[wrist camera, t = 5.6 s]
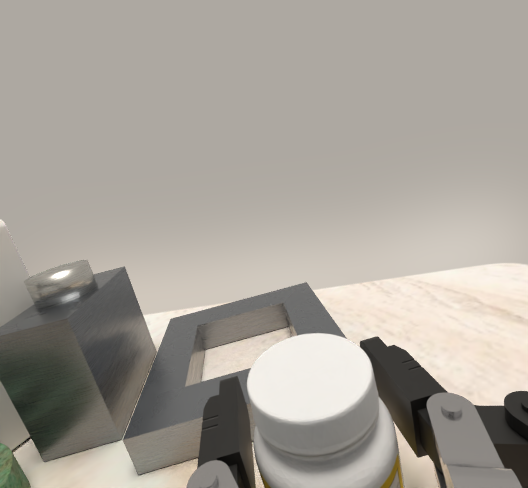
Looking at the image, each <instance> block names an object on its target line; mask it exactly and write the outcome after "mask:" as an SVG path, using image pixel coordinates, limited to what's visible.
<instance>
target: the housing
mask: <svg viewBox="0 0 528 488" xmlns="http://www.w3.org/2000/svg"><path fill="white" fill-rule="evenodd" d="M24 283H25V286H26V288H27V290H28V292H29V294H30V296H31V298H32V300H33V303H34V305H32V306H31V307H29V308H28V309H26V310H25V311H24V312H22V313H21V314H19V315H18V316H16V317H15V318H13V319H12V320H10V321H9V322H7V323H6V324H4V325H3V326H1V327H0V381H1V383H2V385H3V386H4V388H5V390H6V392H7V394H8V396H9V398H10V399H11V401H12V403H13V405H14V407H15V409H16V411H17V412H18V414H19V416H20V418H21V420H22V422H23V424H24V425H25V427H26V429H27V431H28V433H29V435H30V436H31V438H32V440H33V442H34V444H35V446H36V448H37V449H38V451H39V453H40V455H41V457H42V459H43V461H44V462H45V461H49V460H52V459H56V458H59V457H63V456H66V455H69V454H73V453H76V452H80V451H83V450H87V449H90V448H94V447H97V446H101V445H104V444H107V443H111V442H114V441H118V440H121V439H122V436H123V434H124V431H125V429H126V427H127V424H128V422H129V419H130V417H131V414H132V412H133V409H134V407H135V404H136V402H137V399H138V397H139V394H140V392H141V389H142V387H143V384H144V382H145V379H146V377H147V374H148V372H149V369H150V367H151V364H152V362H153V359H154V357H155V354H156V349H155V346H154V344H153V341H152V338H151V336H150V333H149V330H148V328H147V325H146V322H145V320H144V317H143V314H142V312H141V309H140V306H139V304H138V301H137V298H136V296H135V293H134V290H133V288H132V285H131V282H130V280H129V277H128V274H127V272H126V269H125V267H121V268H117V269H113V270H109V271H105V272H101V273H98V274H94V275H93V272H92V270H91V268H90V265H89V262H88V261H87V260H81V261H76V262H72V263H68V264H64V265H61V266H58V267H55V268H52V269H49V270H46V271H44V272H41V273H39V274H36V275H34V276H32V277H30V278H28V279H26V280H25V281H24ZM288 326H289V328H290V330H291V333H292V335H293V336H298V335H302V334H312V333H324V334H332V335H336V336H340V337H343V338H346V337H345V335H344V334H343V333H342V331H341V330H340V328H339V327H338V326H337V324H336V323H335V321H334V320H333V319H332V317H331V316H330V314H329V313H328V312H327V310H326V309H325V307H324V306H323V305H322V303H321V302H320V301H319V299H318V298H317V296H316V295H315V294H314V292H313V291H312V289H311V288H310V287H309V285H308V284H307V283H302V284H299V285H295V286H291V287H288V288H284V289H280V290H277V291H273V292H269V293H266V294H262V295H258V296H254V297H251V298H247V299H243V300H239V301H236V302H232V303H228V304H224V305H221V306H217V307H213V308H210V309H206V310H202V311H198V312H195V313H191V314H187V315H184V316H180V317H176V318H173V319H171V320H170V322H169V325H168V327H167V330H166V332H165V335H164V337H163V340H162V342H161V345H160V347H159V350H158V353H157V355H156V358H155V360H154V363H153V365H152V368H151V370H150V373H149V375H148V378H147V380H146V383H145V385H144V388H143V390H142V393H141V396H140V398H139V401H138V403H137V406H136V408H135V411H134V413H133V416H132V418H131V421H130V423H129V426H128V428H127V431H126V433H125V436H124V439H123V442H124V444H125V446H126V448H127V451H128V453H129V455H130V457H131V460H132V462H133V464H134V466H135V469H136V471H137V473H138V475H140V474H143V473H147V472H150V471H153V470H157V469H160V468H163V467H167V466H170V465H174V464H177V463H180V462H184V461H187V460H190V459H194V458H197V457H199V448H200V439H201V431H202V422H203V420H202V419H203V410H204V407H205V405H206V403H207V401H208V399H209V398H210V397H212V396H216V395H219V384H220V380H224V379H228V378H231V377H235V376H238V379H239V382H240V385H241V388H242V392H243V395H244V398H245V401H246V405H247V409H248V413H249V419H250V428H251V440H252V441H254V430H255V426H256V424H255V422H254V419H253V413H252V408H251V404H250V400H249V396H248V391H247V379H248V375H249V372H250V369H251V368H249V369H246V370H242V371H239V372H235V373H232V374H228V375H225V376H221V377H218V378H214V379H210V380H207V381H203V382H201V378H202V370H203V363H204V355H205V349H209V348H212V347H216V346H220V345H223V344H227V343H231V342H234V341H238V340H241V339H245V338H249V337H252V336H256V335H259V334H263V333H267V332H270V331H274V330H277V329H281V328H285V327H288ZM346 339H347V338H346Z"/></svg>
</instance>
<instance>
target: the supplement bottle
mask: <svg viewBox="0 0 528 488" xmlns="http://www.w3.org/2000/svg"><path fill="white" fill-rule="evenodd" d="M247 391H248V396H249V400H250V404H251V408H252V413H253V419H254V422H255V424H256V426H255V430H254V451H255V457H256V462H257V465H258V469H259V472H260V475H261V478H262V481H263V484H264V487H265V488H405V487H404V481H403V475H402V469H401V463H400V456H399V449H398V442H397V437H396V432H395V427H394V423H393V420H392V417H391V415H390V413H389V410H388V409H387V407H386V406H385V404H384V403H383V401H382V400H381V399H380V397H379V396H378V391H377V387H376V382H375V377H374V372H373V368H372V364H371V361H370V359H369V357H368V356H367V354H366V353H365V352H364V350H363V349H361V348H360V347H359V346H358V345H356V344H355V343H354V342H352V341H350V340H348V339H346V338H343V337H340V336H336V335H332V334H324V333H312V334H302V335H298V336H293V337H290V338H287V339H285V340H283V341H280V342H278V343H276V344H275V345H273V346H271V347H270V348H268V349H267V350H266V351H264V352H263V353H262V354H261V355H260V356H259V357H258V358H257V360H256V361H255V362H254V364H253V365H252V367H251V369H250V372H249V375H248V379H247Z"/></svg>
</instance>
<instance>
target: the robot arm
mask: <svg viewBox="0 0 528 488" xmlns="http://www.w3.org/2000/svg"><path fill="white" fill-rule="evenodd" d="M360 348H361V349H363V350H364V352H365V353H366V354H367V356H368V357H369V359H370V361H371V364H372V368H373V372H374V377H375V382H376V387H377V391H378V396H379V397H380V399H381V400H382V401H383V403H384V404H385V406H386V407H387V409H388V410H389V413H390V415H391V417H392V420H393V421H394V423H395V424H396V426H397V427H398V429H399V430H400V432H401V433H402V435H403V436H404V438H405V439H406V441H407V442H408V444H409V445H410V447H411V448H412V450H413V451H414V453H415V454H416V456H417V457H418V458H419V457H422V456H425V455H429V457H430V458H431V460H432V461H433V463H434V471H435V475H436V479H437V483H438V487H439V488H528V392H527V391H516V392H512V393H510V394H508V395H507V396H506V397H505V399H504V406H477V405H473V404H472V403H471V402H470V401H469V400H467V399H466V398H464V397H462V396H459V395H457V394H453V393H448V392H447V391H446V390H445V389H444V388H443V387H442V386H441V385H440V384H439V383H438V382H437V381H436V380H435V379H434V378H433V377H432V376H431V375H430V374H429V373H428V372H427V371H426V370H425V369H424V368H423V367H421V365H420V364H419V363H418V362H417V361H416V360H414V358H413V357H412V356H411V355H410V354H409V353H408V352H407V351H406V350H404V349H401V348H399V347H397V346H395V345H392V346H388V347H387V346H386V345H385V344H384V342H383V341H382V340H381V339H380V338H379V337H373V338H370V339H366V340H363V341H360ZM202 420H203V422H202V431H201V439H200V448H199V458H198V467H197V470H196V471H195V472H194V473H193V474H192V476H191V477H190V479H189V481H188V484H187V488H256V486H255V474H254V463H253V451H252V440H251V428H250V419H249V413H248V409H247V405H246V401H245V398H244V395H243V392H242V388H241V385H240V382H239V379H238V376H235V377H231V378H228V379H224V380H220V384H219V395H216V396H212V397H210V398H209V399H208V401H207V403H206V405H205V407H204V410H203V419H202Z"/></svg>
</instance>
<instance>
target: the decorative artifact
mask: <svg viewBox="0 0 528 488" xmlns="http://www.w3.org/2000/svg"><path fill="white" fill-rule="evenodd" d="M0 488H30V484H29V481H28V480H27V478H26V476H25V474H24V473H23V471H22V469H21V467H20V465H19V464H18V462H17V460H16V458H15V457H14V455H13V453H12V451H11V450H10V448H9V447H7V446H6V445H4V444H2V443H0Z"/></svg>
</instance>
